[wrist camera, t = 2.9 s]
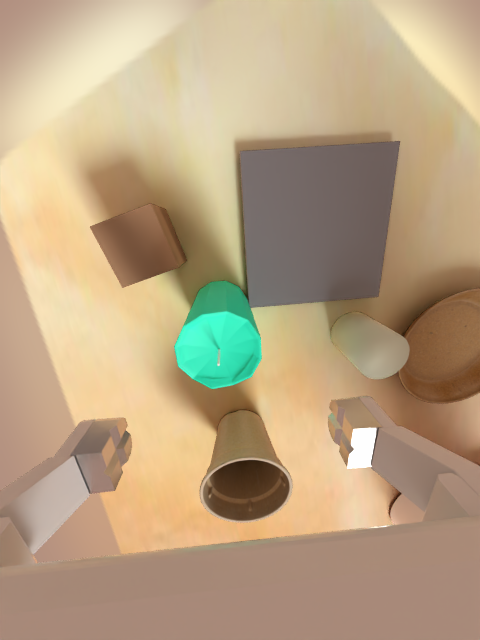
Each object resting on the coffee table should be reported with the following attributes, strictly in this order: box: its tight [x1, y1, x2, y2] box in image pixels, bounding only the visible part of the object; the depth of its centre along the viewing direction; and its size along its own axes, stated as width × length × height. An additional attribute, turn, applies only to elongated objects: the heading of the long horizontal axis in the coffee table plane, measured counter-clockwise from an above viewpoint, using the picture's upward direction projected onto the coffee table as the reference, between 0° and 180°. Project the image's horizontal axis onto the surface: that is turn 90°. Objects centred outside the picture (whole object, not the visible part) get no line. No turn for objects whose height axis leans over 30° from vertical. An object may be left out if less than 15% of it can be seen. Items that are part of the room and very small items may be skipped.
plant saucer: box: [398, 288, 480, 404], centre depth 28 cm, size 15×15×3 cm
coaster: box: [239, 141, 400, 308], centre depth 23 cm, size 14×14×1 cm
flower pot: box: [200, 410, 293, 523], centre depth 28 cm, size 9×9×9 cm
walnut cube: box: [90, 203, 187, 288], centre depth 21 cm, size 5×5×5 cm
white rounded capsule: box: [331, 312, 410, 379], centre depth 25 cm, size 5×5×6 cm
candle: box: [174, 281, 262, 389], centre depth 20 cm, size 6×6×12 cm
